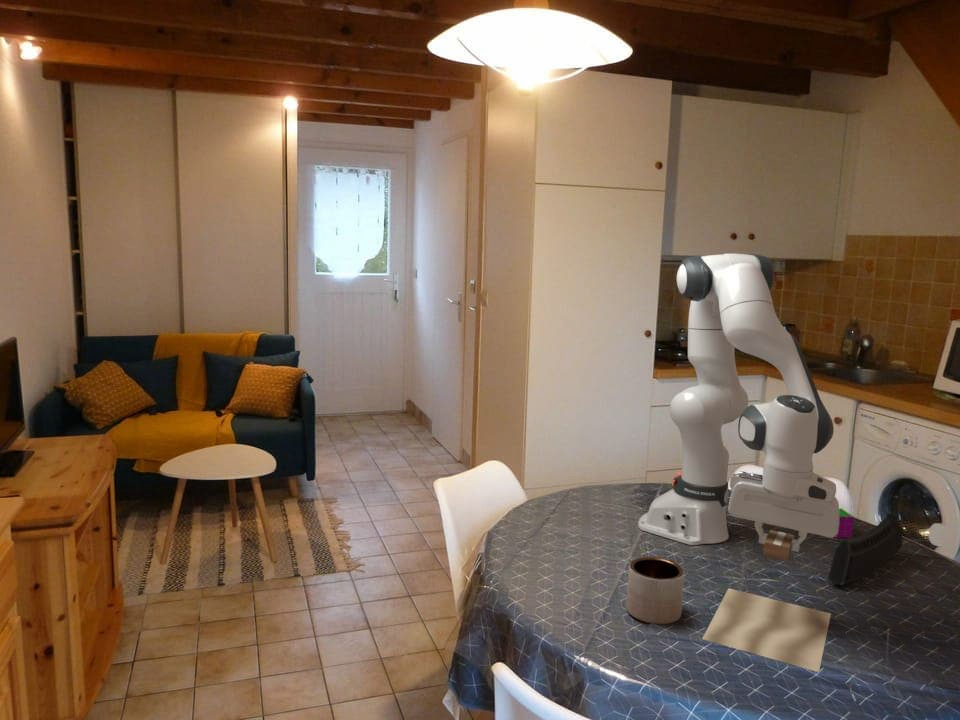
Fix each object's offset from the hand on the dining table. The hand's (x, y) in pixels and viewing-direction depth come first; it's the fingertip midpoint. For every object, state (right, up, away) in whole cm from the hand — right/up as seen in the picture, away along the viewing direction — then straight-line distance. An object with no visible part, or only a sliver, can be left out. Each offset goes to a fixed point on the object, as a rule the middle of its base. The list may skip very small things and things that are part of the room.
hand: (778, 546), depth 147 cm
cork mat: (-3, -15, -3) cm, 16 cm away
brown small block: (0, -1, 0) cm, 1 cm away
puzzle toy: (+33, -8, +46) cm, 58 cm away
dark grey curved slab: (+30, -12, +25) cm, 41 cm away
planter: (-24, -14, +2) cm, 28 cm away
